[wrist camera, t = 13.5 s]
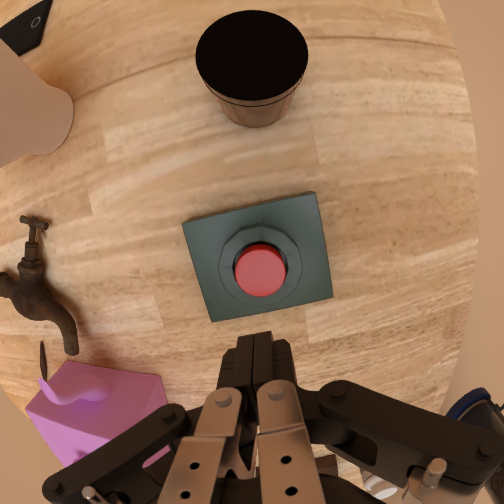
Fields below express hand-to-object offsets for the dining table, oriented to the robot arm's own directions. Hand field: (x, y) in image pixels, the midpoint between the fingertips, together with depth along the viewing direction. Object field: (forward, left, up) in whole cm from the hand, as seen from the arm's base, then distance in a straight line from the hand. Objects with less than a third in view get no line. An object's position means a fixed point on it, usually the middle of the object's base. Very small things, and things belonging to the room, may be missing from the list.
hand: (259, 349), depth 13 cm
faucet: (+28, -4, -16) cm, 32 cm away
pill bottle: (-11, +37, -16) cm, 42 cm away
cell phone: (+29, -40, -16) cm, 52 cm away
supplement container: (-3, -15, -16) cm, 22 cm away
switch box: (0, 0, -16) cm, 16 cm away
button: (0, 0, -12) cm, 12 cm away
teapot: (+24, +16, -16) cm, 33 cm away
